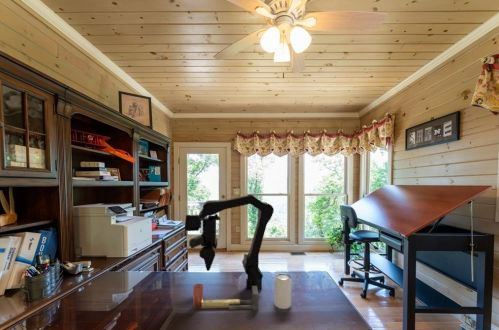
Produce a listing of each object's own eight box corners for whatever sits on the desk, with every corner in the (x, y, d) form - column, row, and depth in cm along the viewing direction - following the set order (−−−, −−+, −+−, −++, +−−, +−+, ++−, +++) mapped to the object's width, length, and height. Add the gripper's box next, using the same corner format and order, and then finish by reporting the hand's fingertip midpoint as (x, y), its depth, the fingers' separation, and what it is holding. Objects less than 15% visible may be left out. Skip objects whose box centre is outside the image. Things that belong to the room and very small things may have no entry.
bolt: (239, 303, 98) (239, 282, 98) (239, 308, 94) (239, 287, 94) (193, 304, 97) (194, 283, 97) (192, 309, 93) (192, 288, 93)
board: (263, 300, 102) (263, 283, 102) (267, 316, 91) (267, 296, 91) (197, 302, 101) (197, 284, 101) (192, 318, 90) (192, 298, 90)
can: (280, 313, 93) (280, 281, 93) (271, 305, 99) (271, 274, 99) (294, 309, 96) (294, 278, 96) (284, 301, 102) (284, 271, 102)
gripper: (193, 225, 117) (193, 258, 116) (186, 236, 98) (186, 275, 98) (217, 225, 117) (217, 258, 117) (215, 235, 99) (214, 275, 99)
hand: (209, 266), depth 108 cm, fingers open, 9 cm apart
